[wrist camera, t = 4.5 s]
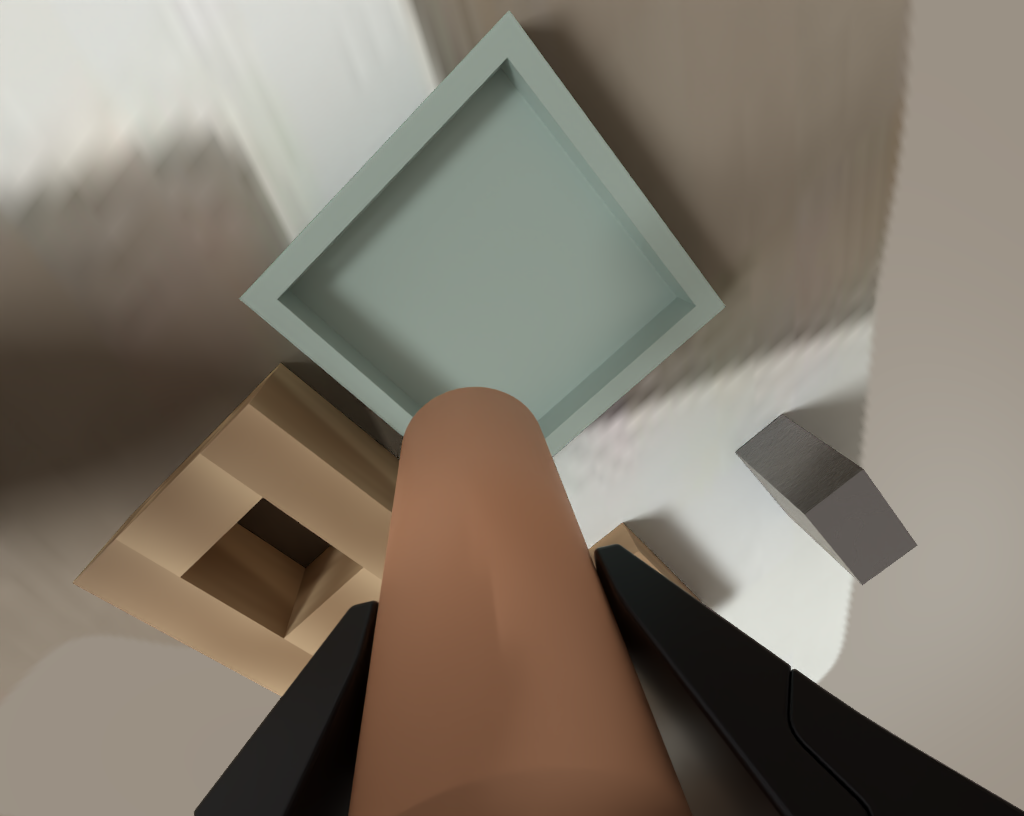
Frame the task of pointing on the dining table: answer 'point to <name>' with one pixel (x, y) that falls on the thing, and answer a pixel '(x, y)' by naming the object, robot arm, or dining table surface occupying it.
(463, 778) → the dowel
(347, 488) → the socket block
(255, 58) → the dining table surface
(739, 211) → the dining table surface
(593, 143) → the tray
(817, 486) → the grey rectangular block
